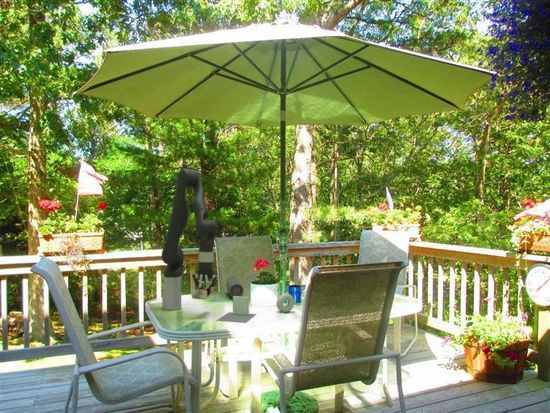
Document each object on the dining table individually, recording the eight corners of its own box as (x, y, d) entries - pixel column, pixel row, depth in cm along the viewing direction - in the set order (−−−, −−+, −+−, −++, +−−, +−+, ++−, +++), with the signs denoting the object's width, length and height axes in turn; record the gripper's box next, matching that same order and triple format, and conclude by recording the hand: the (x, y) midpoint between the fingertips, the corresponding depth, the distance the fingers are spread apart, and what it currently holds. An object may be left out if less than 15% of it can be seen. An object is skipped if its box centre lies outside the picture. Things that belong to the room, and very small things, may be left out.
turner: (191, 298, 226) (192, 290, 226) (205, 294, 241) (205, 286, 241) (205, 299, 224) (205, 291, 225) (217, 295, 239) (218, 287, 240)
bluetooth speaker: (225, 292, 295) (225, 277, 295) (240, 292, 297) (240, 276, 297) (228, 300, 273) (228, 283, 273) (244, 299, 274) (244, 282, 274)
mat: (215, 321, 222) (215, 320, 222) (228, 313, 240) (228, 312, 240) (245, 324, 219) (245, 322, 219) (256, 315, 236) (256, 314, 236)
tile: (232, 314, 235) (232, 296, 235) (233, 313, 237) (233, 296, 237) (247, 315, 233) (248, 297, 233) (248, 314, 235) (248, 296, 235)
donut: (291, 310, 247) (291, 292, 247) (295, 312, 244) (295, 293, 244) (275, 312, 242) (275, 293, 242) (278, 314, 239) (278, 294, 239)
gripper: (189, 260, 230) (188, 295, 230) (216, 262, 227) (214, 297, 227) (196, 258, 237) (195, 292, 238) (221, 260, 234) (220, 295, 234)
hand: (204, 295), depth 232 cm, fingers closed on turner, 3 cm apart
